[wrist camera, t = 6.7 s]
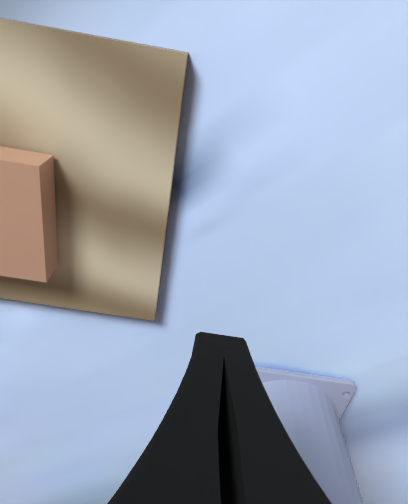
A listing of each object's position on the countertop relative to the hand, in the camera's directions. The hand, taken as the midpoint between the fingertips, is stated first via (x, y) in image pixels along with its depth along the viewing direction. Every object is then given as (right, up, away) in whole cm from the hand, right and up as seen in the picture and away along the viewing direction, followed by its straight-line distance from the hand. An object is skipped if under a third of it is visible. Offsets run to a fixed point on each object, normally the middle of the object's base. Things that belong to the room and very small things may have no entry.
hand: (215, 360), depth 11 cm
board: (-8, +6, +8) cm, 13 cm away
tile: (-8, +4, +7) cm, 11 cm away
